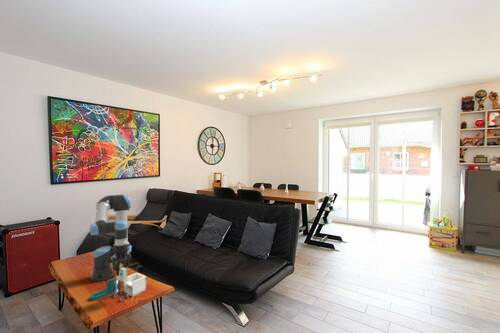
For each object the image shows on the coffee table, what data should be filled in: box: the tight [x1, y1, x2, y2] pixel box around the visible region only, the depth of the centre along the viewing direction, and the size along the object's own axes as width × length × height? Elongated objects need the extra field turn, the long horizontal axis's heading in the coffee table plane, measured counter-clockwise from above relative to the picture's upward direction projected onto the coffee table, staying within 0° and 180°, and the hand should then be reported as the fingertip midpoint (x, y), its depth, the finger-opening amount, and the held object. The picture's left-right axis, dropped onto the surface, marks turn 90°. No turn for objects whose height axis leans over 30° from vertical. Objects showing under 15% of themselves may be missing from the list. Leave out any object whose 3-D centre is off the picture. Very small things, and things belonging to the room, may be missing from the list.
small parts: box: [113, 279, 130, 302], centre depth 166 cm, size 11×5×10 cm, turn 57°
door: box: [115, 265, 128, 283], centre depth 165 cm, size 9×4×8 cm, turn 57°
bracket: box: [89, 278, 122, 302], centre depth 170 cm, size 18×7×8 cm, turn 142°
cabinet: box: [123, 272, 147, 297], centre depth 174 cm, size 11×10×10 cm
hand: (121, 278), depth 165 cm, fingers closed on door, 3 cm apart
